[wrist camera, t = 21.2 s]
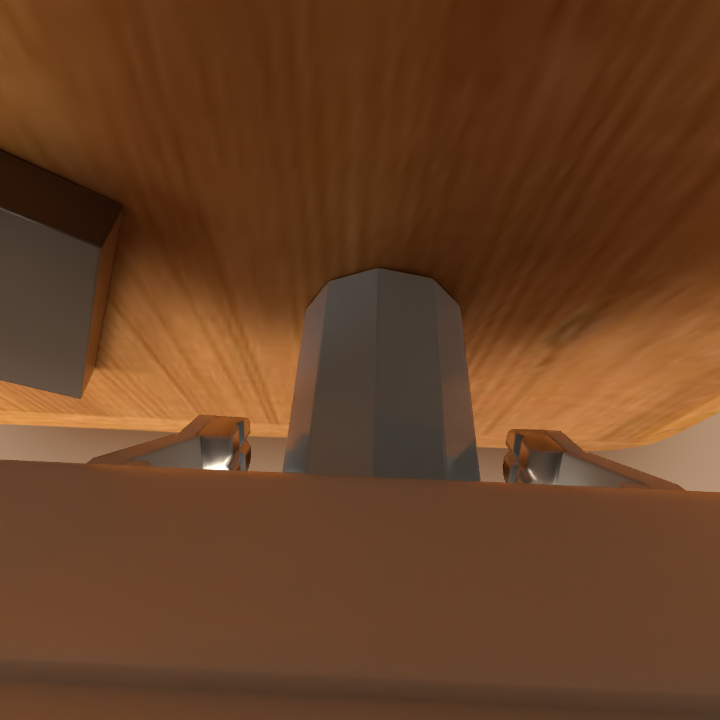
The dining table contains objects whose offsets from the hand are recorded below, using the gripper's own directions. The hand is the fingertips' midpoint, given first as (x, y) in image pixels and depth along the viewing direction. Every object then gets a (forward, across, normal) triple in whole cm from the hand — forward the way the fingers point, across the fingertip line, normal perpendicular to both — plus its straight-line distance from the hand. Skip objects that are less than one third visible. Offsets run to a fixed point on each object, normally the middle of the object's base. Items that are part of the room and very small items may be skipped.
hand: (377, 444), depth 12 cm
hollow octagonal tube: (+3, 0, -3) cm, 4 cm away
